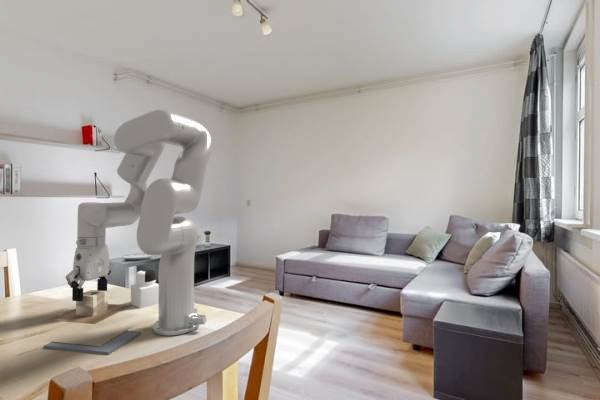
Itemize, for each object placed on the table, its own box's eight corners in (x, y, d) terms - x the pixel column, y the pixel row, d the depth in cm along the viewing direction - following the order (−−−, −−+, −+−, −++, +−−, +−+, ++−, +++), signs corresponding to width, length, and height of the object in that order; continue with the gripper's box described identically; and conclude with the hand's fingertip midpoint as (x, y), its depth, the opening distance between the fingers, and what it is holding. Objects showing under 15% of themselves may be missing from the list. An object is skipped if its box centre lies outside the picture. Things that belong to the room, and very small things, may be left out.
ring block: (107, 309, 107) (107, 291, 107) (93, 316, 101) (93, 296, 101) (91, 308, 108) (91, 290, 108) (76, 315, 102) (75, 295, 102)
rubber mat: (141, 333, 90) (140, 331, 90) (108, 354, 79) (108, 352, 79) (83, 328, 93) (83, 326, 93) (43, 348, 82) (43, 345, 82)
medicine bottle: (151, 300, 118) (151, 267, 118) (161, 305, 114) (161, 270, 114) (130, 306, 113) (130, 270, 113) (140, 310, 108) (140, 274, 108)
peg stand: (132, 307, 111) (132, 292, 111) (94, 326, 95) (94, 308, 95) (90, 304, 114) (90, 289, 113) (47, 322, 98) (47, 304, 98)
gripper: (79, 246, 95) (78, 306, 95) (121, 238, 112) (120, 289, 112) (56, 245, 96) (55, 303, 97) (101, 237, 113) (100, 287, 114)
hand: (90, 295), depth 104 cm, fingers open, 9 cm apart
